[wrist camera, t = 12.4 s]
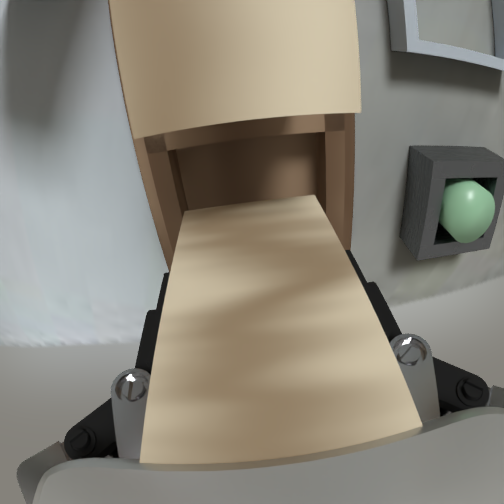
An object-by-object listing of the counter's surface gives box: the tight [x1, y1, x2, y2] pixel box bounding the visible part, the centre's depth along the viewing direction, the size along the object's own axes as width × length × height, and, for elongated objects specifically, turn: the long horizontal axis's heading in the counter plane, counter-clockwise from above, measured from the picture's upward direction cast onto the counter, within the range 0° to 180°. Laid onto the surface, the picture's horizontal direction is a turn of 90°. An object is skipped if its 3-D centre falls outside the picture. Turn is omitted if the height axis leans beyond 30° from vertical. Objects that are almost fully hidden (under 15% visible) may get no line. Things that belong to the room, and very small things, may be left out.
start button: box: [438, 178, 495, 243], centre depth 18 cm, size 4×4×3 cm
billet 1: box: [109, 0, 361, 139], centre depth 9 cm, size 5×5×10 cm
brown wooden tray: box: [108, 0, 355, 272], centre depth 16 cm, size 12×19×4 cm, turn 6°
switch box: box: [400, 146, 504, 260], centre depth 19 cm, size 7×7×3 cm
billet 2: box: [140, 195, 423, 464], centre depth 9 cm, size 5×5×10 cm
